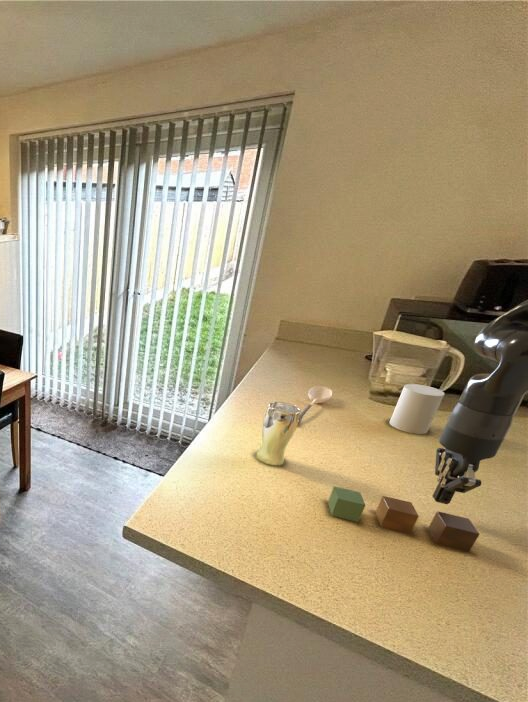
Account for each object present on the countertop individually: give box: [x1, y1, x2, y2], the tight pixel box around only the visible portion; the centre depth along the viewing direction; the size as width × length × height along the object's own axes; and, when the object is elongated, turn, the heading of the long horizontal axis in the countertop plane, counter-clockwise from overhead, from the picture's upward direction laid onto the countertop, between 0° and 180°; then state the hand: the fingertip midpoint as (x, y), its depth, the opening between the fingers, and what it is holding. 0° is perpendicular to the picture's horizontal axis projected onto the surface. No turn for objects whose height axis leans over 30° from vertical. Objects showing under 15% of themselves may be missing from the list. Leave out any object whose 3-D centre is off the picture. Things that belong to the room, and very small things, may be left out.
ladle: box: [297, 385, 333, 426], centre depth 125 cm, size 6×28×5 cm, turn 131°
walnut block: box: [427, 510, 480, 553], centre depth 75 cm, size 4×4×4 cm
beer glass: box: [256, 401, 301, 466], centre depth 98 cm, size 7×7×15 cm
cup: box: [389, 383, 445, 435], centre depth 112 cm, size 8×8×12 cm
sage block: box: [327, 485, 366, 523], centre depth 82 cm, size 4×4×4 cm
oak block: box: [375, 495, 419, 534], centre depth 79 cm, size 4×4×4 cm
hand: (440, 500), depth 81 cm, fingers closed
